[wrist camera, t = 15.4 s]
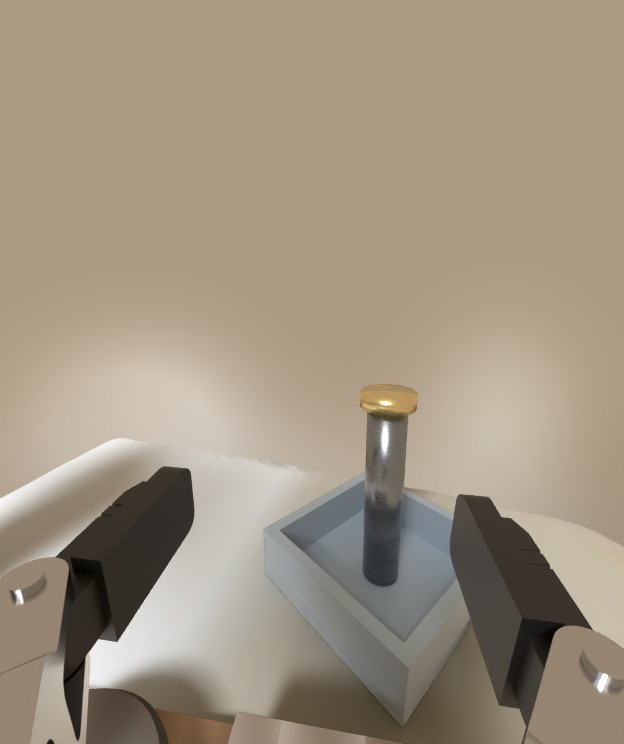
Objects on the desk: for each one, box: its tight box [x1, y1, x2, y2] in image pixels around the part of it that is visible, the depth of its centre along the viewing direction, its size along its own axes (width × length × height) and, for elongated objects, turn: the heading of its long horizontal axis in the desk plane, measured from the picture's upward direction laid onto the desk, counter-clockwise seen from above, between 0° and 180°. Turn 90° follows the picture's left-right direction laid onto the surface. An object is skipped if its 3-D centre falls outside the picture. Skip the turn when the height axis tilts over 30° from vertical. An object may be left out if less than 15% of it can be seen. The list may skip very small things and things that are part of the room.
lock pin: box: [360, 384, 418, 587], centre depth 28 cm, size 4×4×17 cm
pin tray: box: [264, 472, 472, 728], centre depth 30 cm, size 15×15×5 cm
